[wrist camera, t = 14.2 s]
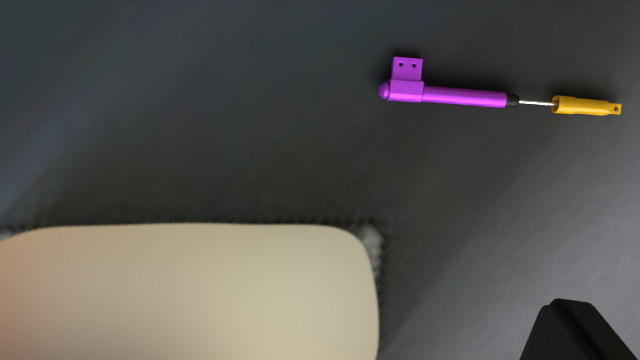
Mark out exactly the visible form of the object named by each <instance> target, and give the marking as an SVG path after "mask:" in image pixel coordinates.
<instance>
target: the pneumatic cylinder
mask: <svg viewBox="0 0 640 360" xmlns="http://www.w3.org/2000/svg"><path fill="white" fill-rule="evenodd" d="M399 63H401V66H399ZM422 63H423V59H416V58H404V57H392V67H391V77H390V79H387V83H386V82H384V83H382V84H381V85H380V86H379V89H378V94H379V95H380V96H381V97H382V98H385V99H387V100H392V101H405V102H418V103H419V102H421V101H423V102H436V103H448V104H461V105H474V106H486V107H499V108H503V107H507V106H509V107H511V108H512V107H517V106H518V105H519V103H526V104H539V105H551V110H552V112H553V113H560V114H573V113H579V114H591V115H604V116H605V115H607V114H618V115H619V114H620V111H621V104H614V103H609V102H608V101H604V100H591V99H579V98H575V97H572V96H560V95H556V96H554V97H553V99H552V102H544V101H531V100H520V98H519V96H518V95H515V94H511V95H509V94H507V93H505V92H496V91H484V90H472V89H460V88H447V87H435V86H424V82H423V81H421V72H422ZM413 64H414V67H412V65H413ZM614 107H616V111H614Z"/></svg>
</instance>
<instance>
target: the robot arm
mask: <svg viewBox="0 0 640 360" xmlns="http://www.w3.org/2000/svg"><path fill="white" fill-rule="evenodd" d="M520 360H638V359H637V358H636V357H635V356H634V354H633V353H632V352H631V351H630V350H629V348H628V347H627V346H626V345H625V343H624V342H623V341H622V340H621V339H620V337H619V336H618V335H617V334H616V333H615V331H614V330H613V329H612V328H611V326H610V325H609V324H608V323H607V322H606V320H605V319H604V318H603V317H602V315H601V314H600V313H599V312H598V311H597V309H596V308H595V307H594V306H593V305H592V304H590V303H587V302H581V301H574V300H567V299H560V298H557V299H554V300H553V301H552V302H551V303H550V305H545V306H543V307H542V308H541V310H540V312H539V314H538V316H537V318H536V321H535V323H534V326H533V328H532V331H531V333H530V335H529V338H528V340H527V343H526V345H525V348H524V350H523V352H522V355H521V357H520Z"/></svg>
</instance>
